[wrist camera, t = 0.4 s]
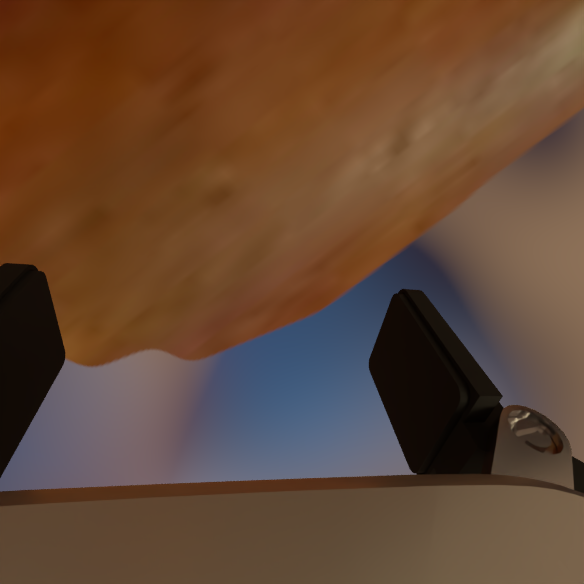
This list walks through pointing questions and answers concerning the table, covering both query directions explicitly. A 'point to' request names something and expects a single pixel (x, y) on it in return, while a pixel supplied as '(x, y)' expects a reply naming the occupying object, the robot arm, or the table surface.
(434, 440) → the robot arm
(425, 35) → the table surface
